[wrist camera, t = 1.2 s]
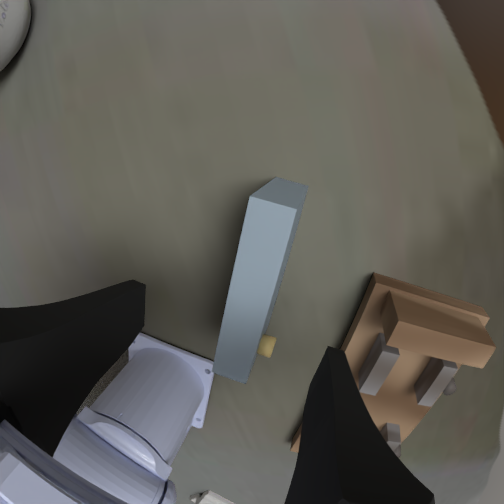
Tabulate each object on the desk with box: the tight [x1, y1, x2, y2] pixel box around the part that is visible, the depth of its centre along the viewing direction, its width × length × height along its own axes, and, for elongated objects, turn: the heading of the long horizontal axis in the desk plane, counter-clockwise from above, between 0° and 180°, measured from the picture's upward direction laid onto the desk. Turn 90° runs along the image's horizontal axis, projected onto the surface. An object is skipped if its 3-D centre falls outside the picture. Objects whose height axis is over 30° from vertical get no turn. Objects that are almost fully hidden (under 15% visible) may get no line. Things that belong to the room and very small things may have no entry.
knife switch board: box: [290, 273, 496, 458], centre depth 20 cm, size 18×9×5 cm, turn 167°
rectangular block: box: [212, 177, 308, 384], centre depth 18 cm, size 10×3×6 cm, turn 167°
